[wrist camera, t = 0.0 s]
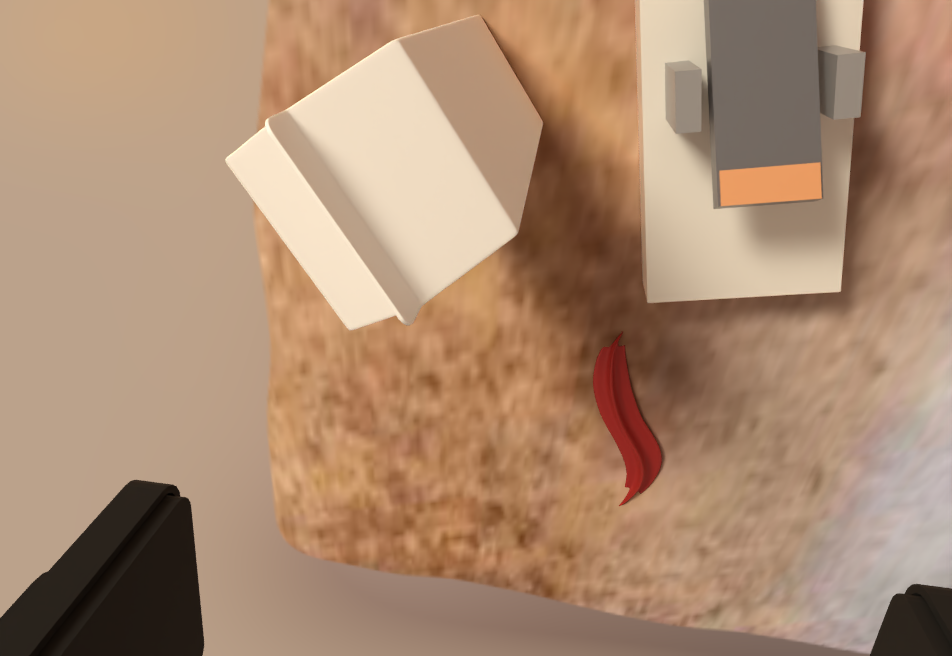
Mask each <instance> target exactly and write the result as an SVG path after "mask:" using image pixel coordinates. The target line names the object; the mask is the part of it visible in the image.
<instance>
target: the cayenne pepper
mask: <svg viewBox="0 0 952 656" xmlns="http://www.w3.org/2000/svg"><path fill="white" fill-rule="evenodd" d="M622 333H623V332H622ZM622 333H621V334H620V335H619V336H618V337H617V339H616V340H615V341H614V342H613V344H612V345H611V346H610V347H603V348H602V349H601V351H600V353H599V355H598V357H597V361H596V364H595V369H594V375H593V387H594V393H595V398H596V402H597V405H598V408H599V411H600V414H601V416H602V418H603V420H604V422H605V424H606V426H607V428H608V430H609V431H610V433H611V435H612V436H613V438H614V440H615V442H616V444H617V446H618V448H619V450H620V452H621V454H622V456H623V459H624V462H625V465H626V471H627V478H626V484H625V487H629V488H630V490H629V492H628V494H627V496H626V497H625V499H624V500H623V502H622V503H621V504H620V505H623V504H624V503H626V502H627V501H628V500H629V499H631V498H632V497H633V496H634V495H635V494H636V493H637V492H639V493H640V494H641V493H642V492H644V491H645V490H646V489H647V488H648V487H649V486H650V485H651V483H652V482H653V481H654V479H655V478H656V476H657V474H658V472H659V470H660V467H661V463H662V456H661V451H660V448H659V445H658V443H657V441H656V440H655V438H654V436H653V435H652V433H651V431H650V430H649V428H648V427H647V425H646V424H645V422H644V420H643V419H642V417H641V414H640V412H639V410H638V407H637V404H636V401H635V398H634V395H633V392H632V389H631V384H630V380H629V374H628V368H627V363H626V355H625V345H624V346H618V341H619V339H620V337H621V335H622ZM620 505H619V506H620Z"/></svg>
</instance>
